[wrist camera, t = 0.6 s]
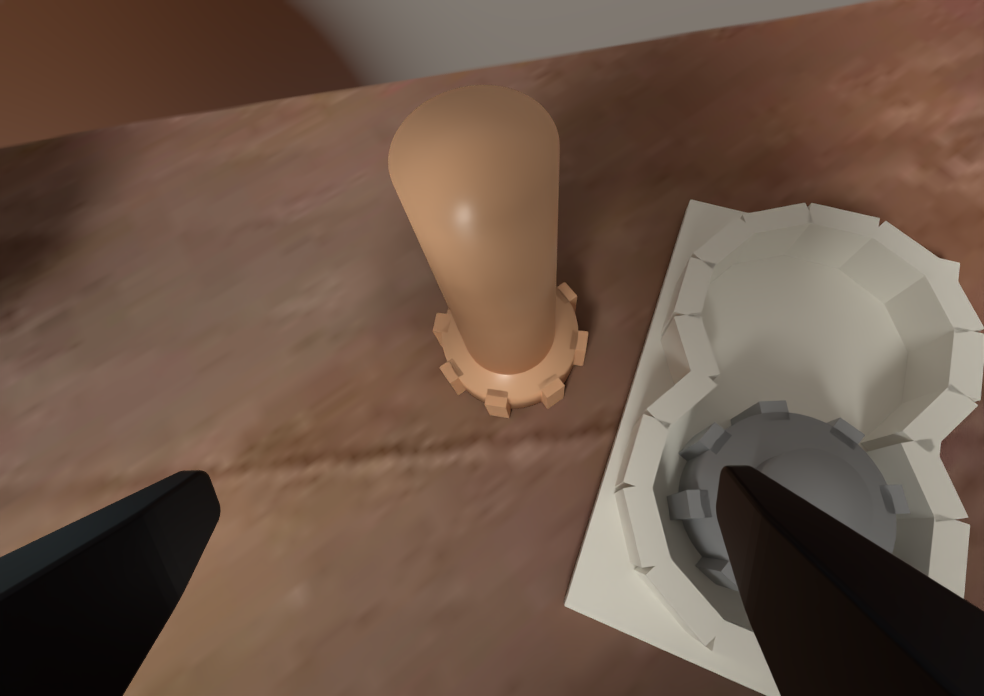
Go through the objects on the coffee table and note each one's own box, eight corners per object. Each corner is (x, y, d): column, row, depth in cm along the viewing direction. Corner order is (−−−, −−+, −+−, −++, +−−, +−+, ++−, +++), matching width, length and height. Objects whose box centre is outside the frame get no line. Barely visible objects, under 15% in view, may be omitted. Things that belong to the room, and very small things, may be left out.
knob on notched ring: (614, 361, 23) (689, 165, 11) (494, 447, 22) (425, 341, 10) (528, 259, 25) (508, 4, 13) (416, 334, 24) (283, 136, 12)
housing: (887, 745, 17) (1035, 838, 12) (563, 602, 19) (568, 627, 14) (943, 274, 22) (1059, 197, 17) (685, 211, 25) (720, 129, 20)
